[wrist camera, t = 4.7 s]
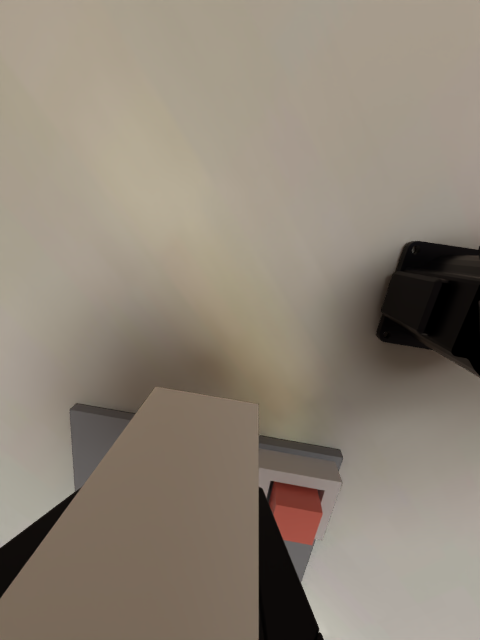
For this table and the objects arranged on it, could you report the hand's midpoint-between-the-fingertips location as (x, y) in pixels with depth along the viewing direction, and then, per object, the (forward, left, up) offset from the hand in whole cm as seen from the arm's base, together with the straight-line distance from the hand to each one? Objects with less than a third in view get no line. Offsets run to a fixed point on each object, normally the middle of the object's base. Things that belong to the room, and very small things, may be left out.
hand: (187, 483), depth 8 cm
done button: (-7, +10, -9) cm, 15 cm away
